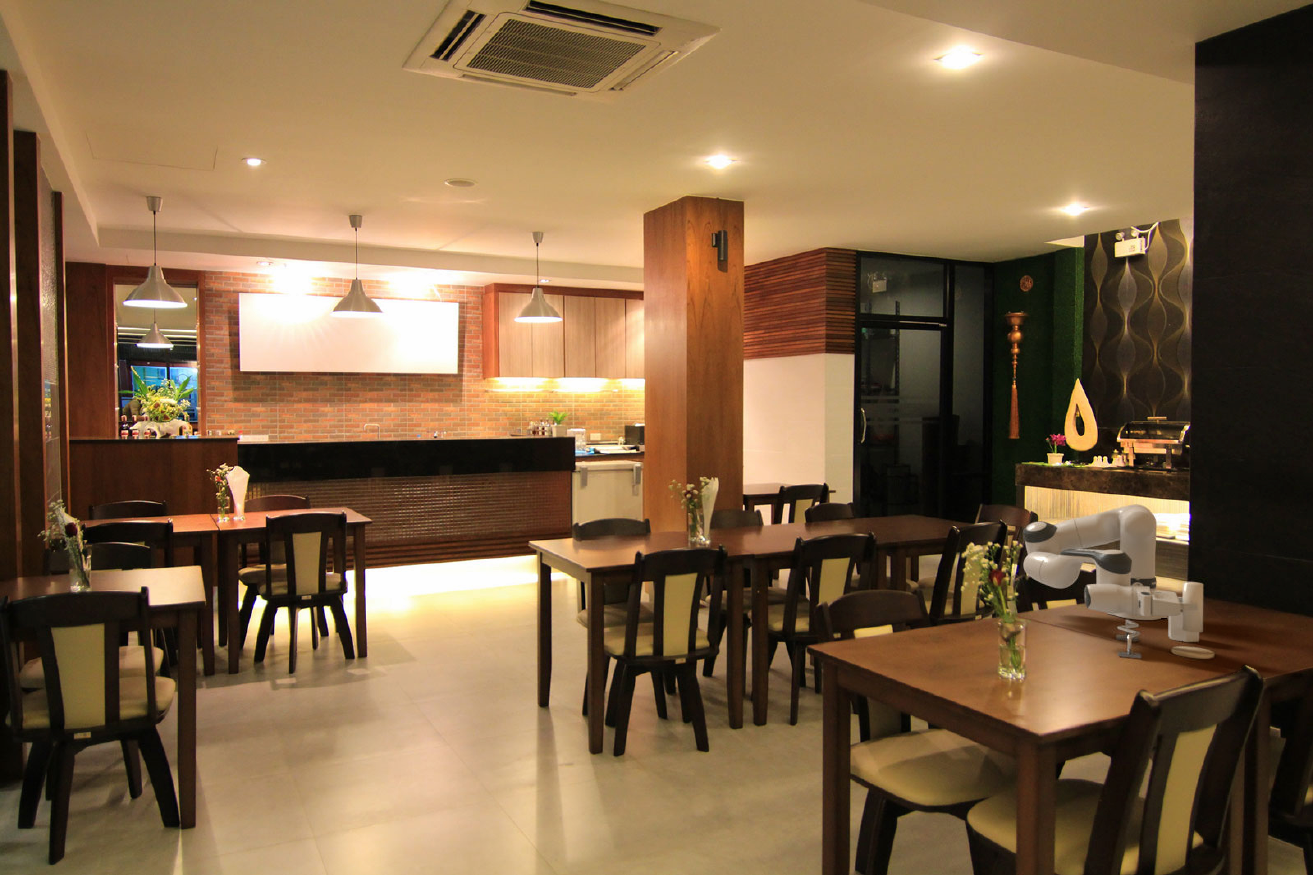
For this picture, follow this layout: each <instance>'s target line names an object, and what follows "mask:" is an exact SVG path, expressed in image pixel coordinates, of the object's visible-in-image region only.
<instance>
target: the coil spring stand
mask: <svg viewBox="0 0 1313 875" xmlns="http://www.w3.org/2000/svg"><path fill="white" fill-rule="evenodd" d="M1139 626H1140V625H1139V623H1137V622H1135V621H1133V620H1130V619H1129V618H1125V625H1117V629H1118V630H1120V631H1124V632H1125V635H1124V634H1116V640H1117V641H1125V642H1127V651H1121V650H1118V651H1117V657H1118V656H1121V657H1120V658H1125V657H1130V658H1129V659H1135V658H1138V659H1137V660H1142V653H1141V652H1132V642H1135V641H1138V642H1139V636H1140V635H1141V632H1140V631H1138V630H1135V629H1134V628H1138V627H1139ZM1132 628H1133V629H1132Z"/></svg>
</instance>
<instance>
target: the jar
mask: <svg viewBox="0 0 1313 875" xmlns="http://www.w3.org/2000/svg"><path fill="white" fill-rule="evenodd" d="M1167 620H1168V621H1167V622H1168V623H1167V624H1168V627H1167V628H1168V629H1167V630H1168V632H1167V635H1168V638H1169V639H1170V640H1172V641H1177V642H1182V641H1183V643H1195V642H1197V643H1198V642H1199V641H1200V632H1188V631H1184V630H1183V610H1181V614H1180V615H1177V616H1168V618H1167Z"/></svg>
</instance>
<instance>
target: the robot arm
mask: <svg viewBox="0 0 1313 875" xmlns="http://www.w3.org/2000/svg"><path fill="white" fill-rule="evenodd" d="M1022 537H1023V541H1025V542H1024V543H1025V548H1026V549H1025V550H1026V551H1027V552H1026V553H1027V555H1026V557H1025V558H1024V561H1023V569H1024V572H1025V573H1026V574H1027V575H1028V576H1029V577H1030V578H1032V579H1033V580H1035V581H1037V582H1039V583H1040V584H1043V585H1045V586H1049V587H1051V588H1054V589H1065V588H1068V587H1071V585H1073V584H1074V583H1075V582H1076V581H1077V579H1078V578H1079V575H1080V572H1081V568H1082V566H1083V565H1084V563H1088V564H1090V563H1091V564H1094V566H1095V570H1096V583H1093V584H1092V583H1091V584H1086V585H1085V587H1084V588H1083V590H1084V592H1083V597H1084V598H1083V599H1084V605H1085V607H1086V608H1087V609H1088V610H1091V611H1096V612H1101V613H1106V614H1107V615H1112V616H1117V617H1119V618H1124V619H1128V620H1130V619H1131V620H1140V621H1154V620H1156V621H1157V620H1159V619H1161V618H1167V619H1168V616H1177V615H1180V614H1181V610H1197V608H1198V606H1197V604H1196V603H1183V596H1178V595H1177V593H1176V592H1175V591H1169V590H1157V577H1156V546H1157V519H1156V516H1155V515H1154V514H1153V512H1152V511H1151V510H1150V509H1149V508H1148V507H1146V506H1145V505H1141V504H1137V503H1136V504H1129V505H1125V506H1121V507H1117V508H1112V509H1109V510H1105V511H1102V512H1098V513H1094V514H1090V515H1089V514H1088V515H1084V516H1078V517H1074V518H1070V519H1068V520H1063V521H1060V522H1057V523H1054V524H1051V523H1050V522H1046V521H1043V520H1041V521H1033V522H1030V523H1028V524H1027V525H1026V526H1025V527H1024V528H1023V530H1022ZM1116 541H1120V542H1119V550H1118V549H1093V548H1092V547H1097V546H1101V545H1102V546H1103V545H1107V544H1110V543H1113V542H1116ZM1090 548H1092V549H1090Z"/></svg>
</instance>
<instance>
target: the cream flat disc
mask: <svg viewBox="0 0 1313 875" xmlns="http://www.w3.org/2000/svg"><path fill="white" fill-rule="evenodd" d="M1170 651H1171V654H1174V655H1176V656H1180V657H1182V658H1189V659H1197V660H1199V659H1201V660H1203V659H1205V660H1207V659H1213V658H1215V652H1214V651H1212V650H1210V649H1208V648H1207V649H1206V648H1203V647H1202V648H1201V647H1196V646H1185V645H1183V646H1182V645H1181V646H1180V645H1179V646H1173V647H1171V650H1170Z"/></svg>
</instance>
